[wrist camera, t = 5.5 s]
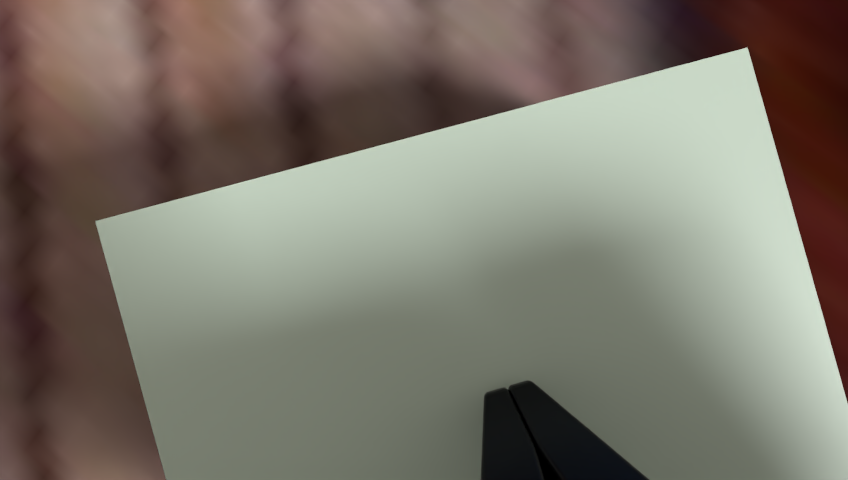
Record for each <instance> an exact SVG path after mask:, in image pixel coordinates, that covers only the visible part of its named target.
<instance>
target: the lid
mask: <svg viewBox="0 0 848 480" xmlns="http://www.w3.org/2000/svg"><path fill="white" fill-rule="evenodd" d="M95 222H96V226H97V229H98V233H99V237H100V240H101V244H102V248H103V251H104V255H105V259H106V262H107V266H108V270H109V273H110V277H111V281H112V284H113V288H114V291H115V295H116V299H117V302H118V306H119V310H120V313H121V317H122V321H123V324H124V328H125V332H126V335H127V339H128V343H129V346H130V350H131V353H132V357H133V361H134V364H135V368H136V372H137V375H138V379H139V383H140V386H141V390H142V394H143V397H144V401H145V405H146V408H147V412H148V416H149V419H150V423H151V426H152V430H153V434H154V437H155V441H156V445H157V448H158V452H159V456H160V459H161V463H162V467H163V470H164V474H165V478H166V480H481V458H482V433H483V407H484V395H485V393H486V392H489V391H492V390H495V389H499V388H502V387H505V388H507V389H508V387H509V386H510V385H512V384H516V383H519V382H522V381H526V380H529V381H532V382H534V383H535V384H536V385H537V386H538V387H540V388H541V389H542V390H543V391H544V392H546V393H547V394H548V395H549V396H550V397H552V398H553V399H554V400H555V401H556V402H558V403H559V404H560V405H561V406H562V407H564V408H565V409H566V410H567V411H568V412H569V413H571V414H572V415H573V416H574V417H575V418H577V419H578V420H579V421H580V422H581V423H583V424H584V425H585V426H586V427H587V428H589V429H590V430H591V431H592V432H593V433H595V434H596V435H597V436H598V437H599V438H600V439H602V440H603V441H604V442H605V443H606V444H608V445H609V446H610V447H611V448H612V449H614V450H615V451H616V452H617V453H618V454H620V455H621V456H622V457H623V458H624V459H626V460H627V461H628V462H629V463H630V464H632V465H633V466H634V467H635V468H636V469H637V470H639V471H640V472H641V473H642V474H643V475H645V476H646V477H647V478H648V479H649V480H848V403H847V400H846V396H845V393H844V389H843V386H842V382H841V378H840V375H839V371H838V368H837V364H836V361H835V357H834V354H833V350H832V346H831V343H830V339H829V336H828V332H827V329H826V325H825V322H824V318H823V314H822V311H821V307H820V304H819V300H818V297H817V293H816V290H815V286H814V282H813V279H812V275H811V272H810V268H809V265H808V261H807V257H806V254H805V250H804V247H803V243H802V240H801V236H800V233H799V229H798V225H797V222H796V218H795V215H794V211H793V208H792V204H791V201H790V197H789V193H788V190H787V186H786V183H785V179H784V176H783V172H782V169H781V165H780V161H779V158H778V154H777V151H776V147H775V144H774V140H773V136H772V133H771V129H770V126H769V122H768V119H767V115H766V112H765V108H764V104H763V101H762V97H761V94H760V90H759V87H758V83H757V80H756V76H755V72H754V69H753V65H752V62H751V58H750V55H749V51H748V48H744V49H740V50H736V51H733V52H729V53H725V54H721V55H718V56H714V57H710V58H706V59H703V60H699V61H695V62H691V63H688V64H684V65H680V66H676V67H673V68H669V69H665V70H661V71H657V72H654V73H650V74H646V75H642V76H639V77H635V78H631V79H627V80H624V81H620V82H616V83H612V84H609V85H605V86H601V87H597V88H594V89H590V90H586V91H582V92H579V93H575V94H571V95H567V96H564V97H560V98H556V99H552V100H549V101H545V102H541V103H537V104H534V105H530V106H526V107H522V108H518V109H515V110H511V111H507V112H503V113H500V114H496V115H492V116H488V117H485V118H481V119H477V120H473V121H470V122H466V123H462V124H458V125H455V126H451V127H447V128H443V129H440V130H436V131H432V132H428V133H425V134H421V135H417V136H413V137H410V138H406V139H402V140H398V141H395V142H391V143H387V144H383V145H379V146H376V147H372V148H368V149H364V150H361V151H357V152H353V153H349V154H346V155H342V156H338V157H334V158H331V159H327V160H323V161H319V162H316V163H312V164H308V165H304V166H301V167H297V168H293V169H289V170H286V171H282V172H278V173H274V174H271V175H267V176H263V177H259V178H256V179H252V180H248V181H244V182H240V183H237V184H233V185H229V186H225V187H222V188H218V189H214V190H210V191H207V192H203V193H199V194H195V195H192V196H188V197H184V198H180V199H177V200H173V201H169V202H165V203H162V204H158V205H154V206H150V207H147V208H143V209H139V210H135V211H132V212H128V213H124V214H120V215H117V216H113V217H109V218H105V219H102V220H98V221H95Z"/></svg>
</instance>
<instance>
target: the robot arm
mask: <svg viewBox="0 0 848 480" xmlns="http://www.w3.org/2000/svg"><path fill="white" fill-rule="evenodd" d="M481 480H649V479H648V478H647V477H646V476H645V475H643V474H642V473H641V472H640V471H639V470H637V469H636V468H635V467H634V466H633V465H632V464H630V463H629V462H628V461H627V460H626V459H624V458H623V457H622V456H621V455H620V454H618V453H617V452H616V451H615V450H614V449H612V448H611V447H610V446H609V445H608V444H606V443H605V442H604V441H603V440H602V439H600V438H599V437H598V436H597V435H596V434H595V433H593V432H592V431H591V430H590V429H589V428H587V427H586V426H585V425H584V424H583V423H581V422H580V421H579V420H578V419H577V418H575V417H574V416H573V415H572V414H571V413H569V412H568V411H567V410H566V409H565V408H564V407H562V406H561V405H560V404H559V403H558V402H556V401H555V400H554V399H553V398H552V397H550V396H549V395H548V394H547V393H546V392H544V391H543V390H542V389H541V388H540V387H538V386H537V385H536V384H535V383H534V382H532V381H529V380H526V381H522V382H519V383H516V384H512V385H510V386H509V387H508V389H507V388H505V387H502V388H499V389H495V390H492V391H489V392H486V393H485V395H484V407H483V433H482V458H481Z"/></svg>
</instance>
